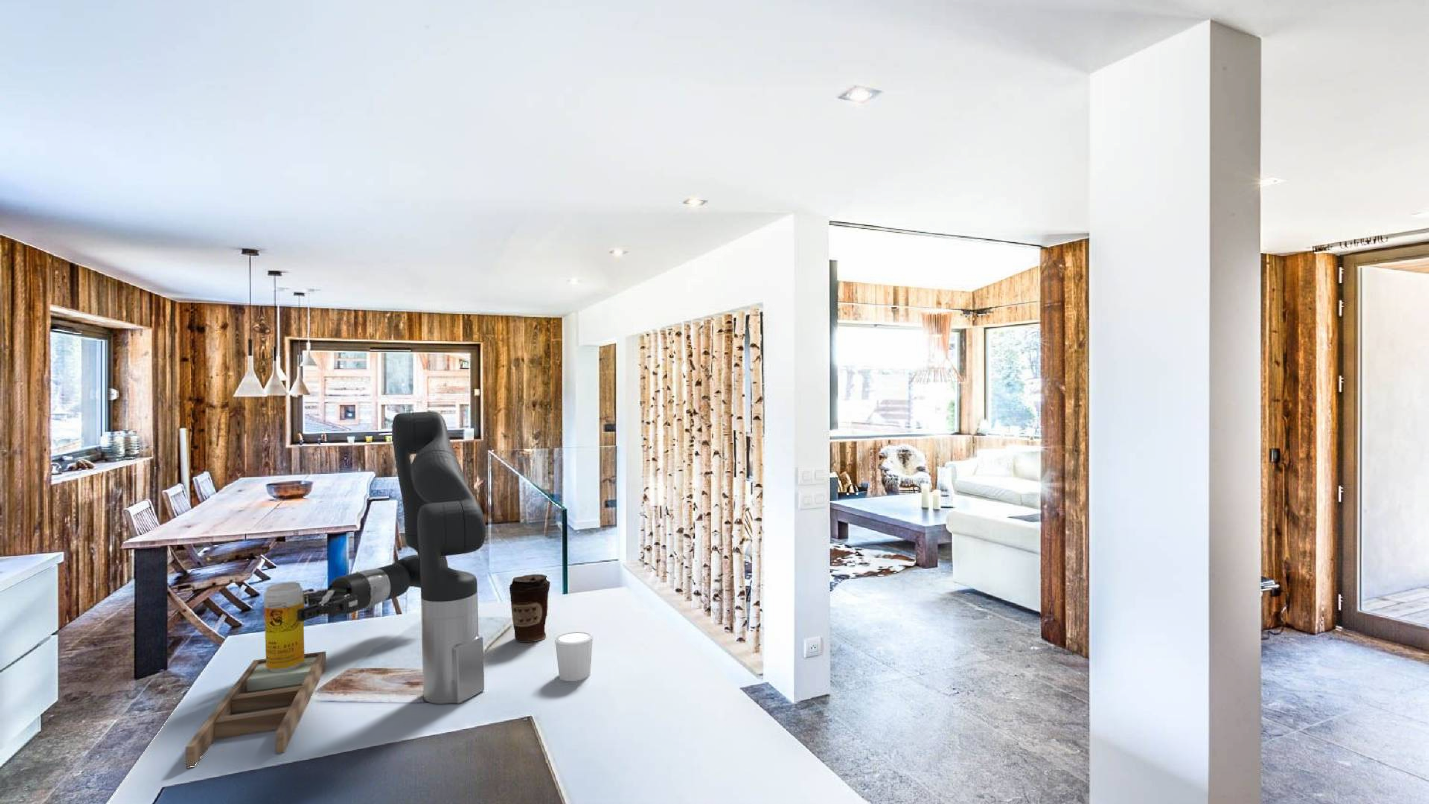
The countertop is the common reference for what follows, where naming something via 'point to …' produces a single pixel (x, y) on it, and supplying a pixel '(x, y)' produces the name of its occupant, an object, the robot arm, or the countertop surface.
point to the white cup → (574, 655)
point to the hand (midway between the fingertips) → (283, 613)
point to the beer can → (283, 627)
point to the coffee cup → (529, 606)
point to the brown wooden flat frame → (261, 705)
